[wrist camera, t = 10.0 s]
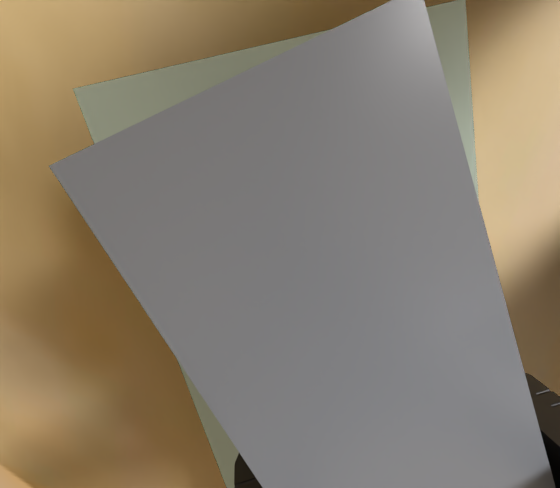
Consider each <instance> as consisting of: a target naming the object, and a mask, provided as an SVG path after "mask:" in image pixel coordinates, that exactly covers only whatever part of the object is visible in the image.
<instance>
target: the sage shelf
mask: <svg viewBox="0 0 560 488" xmlns="http://www.w3.org/2000/svg"><path fill="white" fill-rule="evenodd" d="M426 9H427V13H428V17H429V20H430V24H431V28H432V31H433V35H434V39H435V43H436V46H437V50H438V54H439V57H440V61H441V65H442V68H443V72H444V76H445V80H446V83H447V87H448V91H449V94H450V98H451V102H452V106H453V109H454V113H455V117H456V120H457V124H458V128H459V131H460V135H461V139H462V143H463V146H464V150H465V154H466V157H467V161H468V165H469V168H470V172H471V176H472V180H473V183H474V187H475V191H476V194H477V198H478V184H477V169H476V154H475V138H474V123H473V107H472V92H471V76H470V61H469V45H468V30H467V14H466V0H456V1H452V2H447V3H443V4H439V5H434V6H430V7H426ZM330 30H331V29H330ZM327 31H329V30H326V31H321V32H317V33H313V34H308V35H304V36H300V37H295V38H291V39H287V40H282V41H278V42H274V43H269V44H265V45H261V46H256V47H252V48H248V49H243V50H239V51H235V52H230V53H226V54H222V55H217V56H213V57H209V58H204V59H200V60H196V61H191V62H187V63H183V64H178V65H174V66H170V67H165V68H161V69H156V70H152V71H148V72H143V73H139V74H135V75H130V76H126V77H122V78H117V79H113V80H109V81H104V82H100V83H96V84H91V85H87V86H83V87H78V88H74V89H73V91H74V93H75V96H76V98H77V101H78V104H79V106H80V109H81V111H82V114H83V117H84V119H85V122H86V124H87V127H88V129H89V132H90V135H91V137H92V140H93V142H94V144H95V143H97V142H99V141H101V140H103V139H106V138H108V137H110V136H112V135H114V134H116V133H118V132H120V131H122V130H124V129H126V128H128V127H130V126H132V125H135V124H137V123H139V122H141V121H143V120H145V119H147V118H149V117H151V116H153V115H155V114H157V113H159V112H161V111H164V110H166V109H168V108H170V107H172V106H174V105H176V104H178V103H180V102H182V101H184V100H186V99H188V98H190V97H193V96H195V95H197V94H199V93H201V92H203V91H205V90H207V89H209V88H211V87H213V86H215V85H217V84H219V83H221V82H224V81H226V80H228V79H230V78H232V77H234V76H236V75H238V74H240V73H242V72H244V71H246V70H248V69H250V68H253V67H255V66H257V65H259V64H261V63H263V62H265V61H267V60H269V59H271V58H273V57H275V56H277V55H279V54H282V53H284V52H286V51H288V50H290V49H292V48H294V47H296V46H298V45H300V44H302V43H304V42H306V41H308V40H310V39H313V38H315V37H317V36H319V35H321V34H323V33H325V32H327ZM478 202H479V200H478ZM177 361H178V360H177ZM178 363H179V361H178ZM179 366H180V368H181V371H182V374H183V376H184V379H185V381H186V384H187V386H188V389H189V392H190V394H191V397H192V399H193V402H194V405H195V407H196V410H197V412H198V415H199V418H200V420H201V423H202V425H203V428H204V431H205V433H206V436H207V438H208V441H209V444H210V446H211V449H212V451H213V454H214V457H215V459H216V462H217V464H218V467H219V470H220V472H221V475H222V477H223V480H224V483H225V485H226V488H235V485H234V465H235V461H236V459H237V456H238V454H239V452H238V450H237V448H236V447H235V445H234V444H233V442H232V441H231V439H230V438H229V436H228V435H227V433H226V432H225V430H224V429H223V427H222V426H221V424H220V423H219V421H218V420H217V418H216V417H215V415H214V414H213V412H212V411H211V409H210V408H209V406H208V405H207V403H206V402H205V400H204V399H203V397H202V396H201V394H200V393H199V391H198V390H197V388H196V387H195V385H194V384H193V382H192V381H191V379H190V378H189V376H188V375H187V373H186V372H185V370H184V369H183V367H182V366H181V364H180V363H179Z"/></svg>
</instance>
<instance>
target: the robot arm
mask: <svg viewBox="0 0 560 488" xmlns="http://www.w3.org/2000/svg"><path fill="white" fill-rule="evenodd" d="M525 376H526V380H527V383H528V387H529V391H530V394H531V398H532V402H533V406H534V409H535V413H536V417H537V420H538V424H539V428H540V431H541V435H542V439H543V443H544V446H545V450H546V454H547V457H548V461H549V465H550V469H551V472H552V476H553V480H554V483H555V487H556V488H560V396H558V395H557V394H555V393H554V392H551V391H550V390H549V388H547V387H546V386H545V385H543V384H542V383H541V382H539V381H538V380H537V379H535V378H534V377H533V376H531V375H529V374H527V373H525ZM234 485H235V488H262V486H261V485H260V483H259V482H258V480H257V479H256V477H255V476H254V474H253V473H252V471H251V470H250V468H249V467H248V465H247V464H246V462H245V461H244V459H243V458H242V456H241V455H240V453H239V454H238V456H237V459H236V461H235V465H234Z"/></svg>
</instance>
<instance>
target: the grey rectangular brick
mask: <svg viewBox="0 0 560 488" xmlns="http://www.w3.org/2000/svg"><path fill="white" fill-rule="evenodd" d="M49 167H50V169H51V170H52V172H53V173H54V175H55V176H56V178H57V179H58V181H59V182H60V184H61V185H62V187H63V188H64V190H65V191H66V193H67V194H68V196H69V197H70V199H71V200H72V202H73V203H74V205H75V206H76V208H77V209H78V211H79V212H80V214H81V215H82V217H83V218H84V220H85V221H86V223H87V224H88V226H89V227H90V229H91V230H92V232H93V233H94V235H95V236H96V238H97V239H98V241H99V242H100V244H101V245H102V247H103V248H104V250H105V252H106V253H107V255H108V256H109V258H110V259H111V261H112V262H113V264H114V265H115V267H116V268H117V270H118V271H119V273H120V274H121V276H122V277H123V279H124V280H125V282H126V283H127V285H128V286H129V288H130V289H131V291H132V292H133V294H134V295H135V297H136V298H137V300H138V301H139V303H140V304H141V306H142V307H143V309H144V310H145V312H146V313H147V315H148V316H149V318H150V319H151V321H152V322H153V324H154V325H155V327H156V328H157V330H158V331H159V333H160V334H161V336H162V337H163V339H164V340H165V342H166V343H167V345H168V346H169V348H170V349H171V351H172V352H173V354H174V355H175V357H176V358H177V360H178V361H179V363H180V364H181V366H182V367H183V369H184V370H185V372H186V373H187V375H188V376H189V378H190V379H191V381H192V382H193V384H194V385H195V387H196V388H197V390H198V391H199V393H200V394H201V396H202V397H203V399H204V400H205V402H206V403H207V405H208V406H209V408H210V409H211V411H212V412H213V414H214V415H215V417H216V418H217V420H218V421H219V423H220V424H221V426H222V427H223V429H224V430H225V432H226V433H227V435H228V436H229V438H230V439H231V441H232V442H233V444H234V445H235V447H236V448H237V450H238V452H239V453H240V455H241V456H242V458H243V459H244V461H245V462H246V464H247V465H248V467H249V468H250V470H251V471H252V473H253V474H254V476H255V477H256V479H257V480H258V482H259V483H260V485H261V486H262V488H556V487H555V483H554V480H553V476H552V472H551V469H550V465H549V461H548V457H547V454H546V450H545V446H544V443H543V439H542V435H541V431H540V428H539V424H538V420H537V417H536V413H535V409H534V406H533V402H532V398H531V394H530V391H529V387H528V383H527V380H526V376H525V372H524V369H523V365H522V361H521V357H520V354H519V350H518V346H517V343H516V339H515V335H514V331H513V328H512V324H511V320H510V317H509V313H508V309H507V306H506V302H505V298H504V294H503V291H502V287H501V283H500V280H499V276H498V272H497V269H496V265H495V261H494V257H493V254H492V250H491V246H490V243H489V239H488V235H487V231H486V228H485V224H484V220H483V217H482V213H481V209H480V206H479V202H478V198H477V194H476V191H475V187H474V183H473V180H472V176H471V172H470V168H469V165H468V161H467V157H466V154H465V150H464V146H463V143H462V139H461V135H460V131H459V128H458V124H457V120H456V117H455V113H454V109H453V106H452V102H451V98H450V94H449V91H448V87H447V83H446V80H445V76H444V72H443V68H442V65H441V61H440V57H439V54H438V50H437V46H436V43H435V39H434V35H433V31H432V28H431V24H430V20H429V17H428V13H427V9H426V6H425V2H424V0H391V1H389V2H387V3H385V4H383V5H381V6H379V7H377V8H375V9H373V10H371V11H368V12H366V13H364V14H362V15H360V16H358V17H356V18H354V19H352V20H350V21H348V22H346V23H344V24H342V25H339V26H337V27H335V28H333V29H331V30H329V31H327V32H325V33H323V34H321V35H319V36H317V37H315V38H313V39H310V40H308V41H306V42H304V43H302V44H300V45H298V46H296V47H294V48H292V49H290V50H288V51H286V52H284V53H282V54H279V55H277V56H275V57H273V58H271V59H269V60H267V61H265V62H263V63H261V64H259V65H257V66H255V67H253V68H250V69H248V70H246V71H244V72H242V73H240V74H238V75H236V76H234V77H232V78H230V79H228V80H226V81H224V82H221V83H219V84H217V85H215V86H213V87H211V88H209V89H207V90H205V91H203V92H201V93H199V94H197V95H195V96H193V97H190V98H188V99H186V100H184V101H182V102H180V103H178V104H176V105H174V106H172V107H170V108H168V109H166V110H164V111H161V112H159V113H157V114H155V115H153V116H151V117H149V118H147V119H145V120H143V121H141V122H139V123H137V124H135V125H132V126H130V127H128V128H126V129H124V130H122V131H120V132H118V133H116V134H114V135H112V136H110V137H108V138H106V139H103V140H101V141H99V142H97V143H95V144H93V145H91V146H89V147H87V148H85V149H83V150H81V151H79V152H77V153H75V154H72V155H70V156H68V157H66V158H64V159H62V160H60V161H58V162H56V163H54V164H52V165H50V166H49Z"/></svg>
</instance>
